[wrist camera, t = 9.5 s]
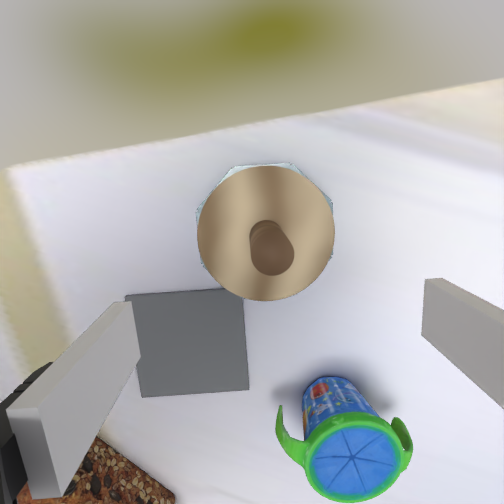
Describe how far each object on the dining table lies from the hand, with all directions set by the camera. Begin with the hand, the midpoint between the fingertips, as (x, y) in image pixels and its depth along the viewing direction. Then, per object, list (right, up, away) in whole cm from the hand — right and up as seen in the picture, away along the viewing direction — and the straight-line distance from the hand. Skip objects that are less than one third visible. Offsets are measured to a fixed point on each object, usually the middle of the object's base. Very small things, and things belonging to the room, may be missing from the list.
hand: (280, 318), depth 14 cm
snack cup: (+9, -17, +29) cm, 35 cm away
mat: (-9, -9, +26) cm, 29 cm away
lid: (0, +5, +17) cm, 18 cm away
